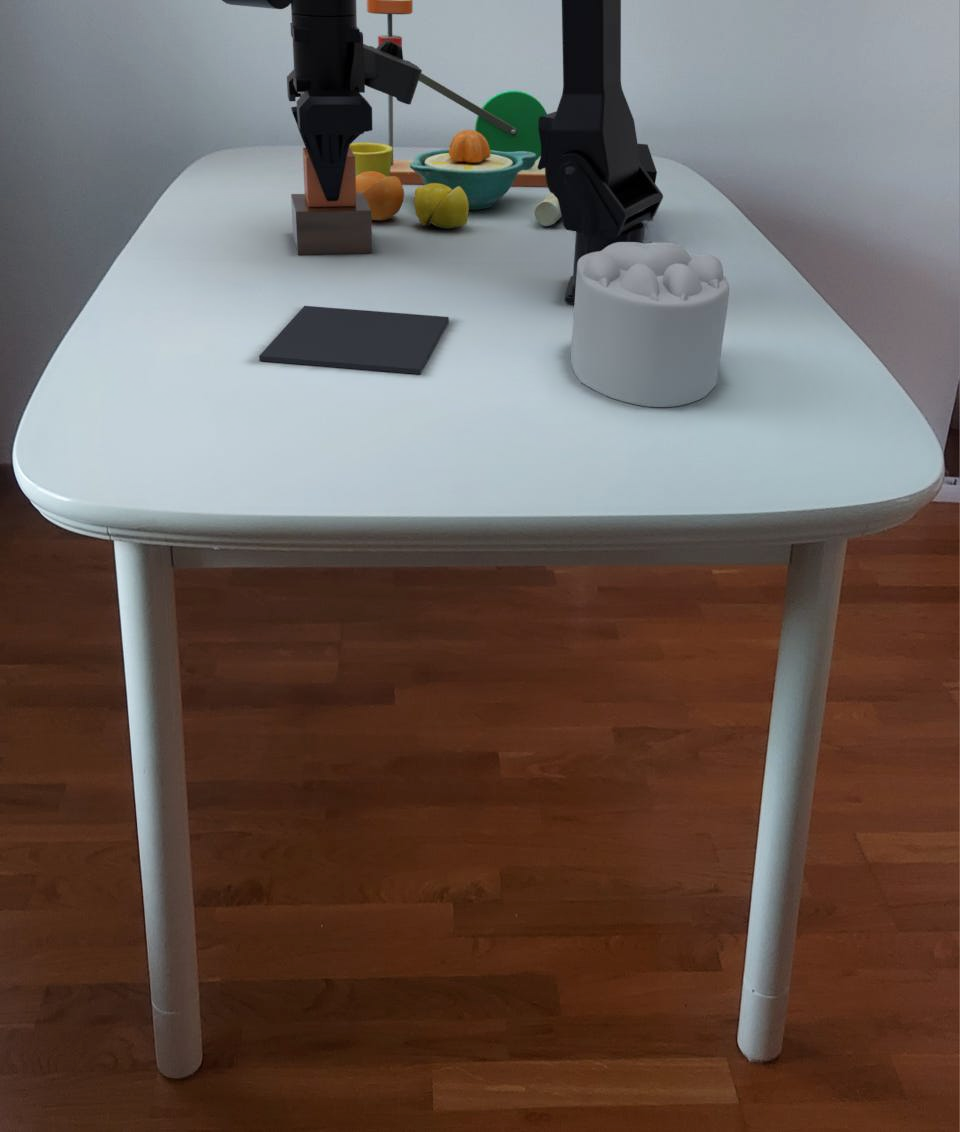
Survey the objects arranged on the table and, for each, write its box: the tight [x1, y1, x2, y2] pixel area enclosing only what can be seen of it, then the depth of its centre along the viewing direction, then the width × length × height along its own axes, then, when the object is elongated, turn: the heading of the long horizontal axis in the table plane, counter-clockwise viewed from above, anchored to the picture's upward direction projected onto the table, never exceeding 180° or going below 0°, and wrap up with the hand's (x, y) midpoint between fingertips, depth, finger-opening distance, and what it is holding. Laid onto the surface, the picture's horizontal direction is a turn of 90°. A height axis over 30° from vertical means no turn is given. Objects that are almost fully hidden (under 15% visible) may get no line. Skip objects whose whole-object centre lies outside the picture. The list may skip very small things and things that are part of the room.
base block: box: [290, 193, 373, 256], centre depth 113 cm, size 7×7×4 cm
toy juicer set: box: [349, 129, 562, 230], centre depth 124 cm, size 29×18×8 cm, turn 93°
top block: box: [302, 147, 356, 207], centre depth 111 cm, size 4×4×4 cm
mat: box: [258, 305, 450, 375], centre depth 90 cm, size 12×12×1 cm
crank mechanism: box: [365, 0, 548, 188], centre depth 135 cm, size 25×7×19 cm, turn 93°
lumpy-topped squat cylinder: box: [570, 241, 730, 408], centre depth 84 cm, size 10×13×9 cm
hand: (330, 194), depth 111 cm, fingers closed on top block, 4 cm apart
